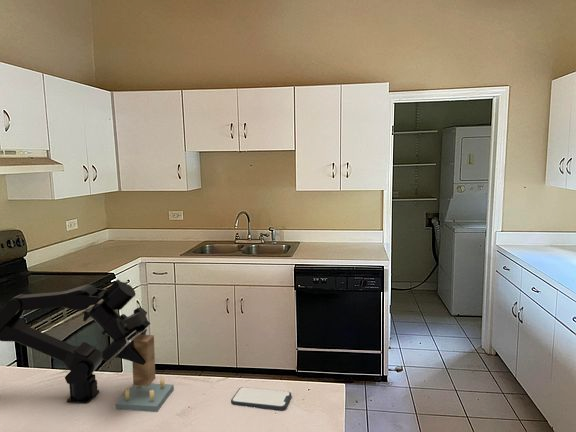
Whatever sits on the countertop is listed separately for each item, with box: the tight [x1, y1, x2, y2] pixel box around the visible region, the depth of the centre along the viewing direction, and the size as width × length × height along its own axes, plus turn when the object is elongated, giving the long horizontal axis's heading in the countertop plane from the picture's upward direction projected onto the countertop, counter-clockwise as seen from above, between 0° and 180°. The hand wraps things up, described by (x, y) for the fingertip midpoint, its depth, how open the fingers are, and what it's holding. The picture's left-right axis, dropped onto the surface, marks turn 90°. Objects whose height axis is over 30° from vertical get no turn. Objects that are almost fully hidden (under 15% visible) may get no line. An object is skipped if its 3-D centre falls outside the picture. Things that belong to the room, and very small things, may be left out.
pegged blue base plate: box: [114, 377, 175, 413], centre depth 126 cm, size 12×12×4 cm
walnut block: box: [131, 334, 156, 386], centre depth 125 cm, size 4×4×13 cm
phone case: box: [230, 386, 292, 412], centre depth 125 cm, size 9×2×16 cm
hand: (148, 359), depth 125 cm, fingers closed on walnut block, 4 cm apart
